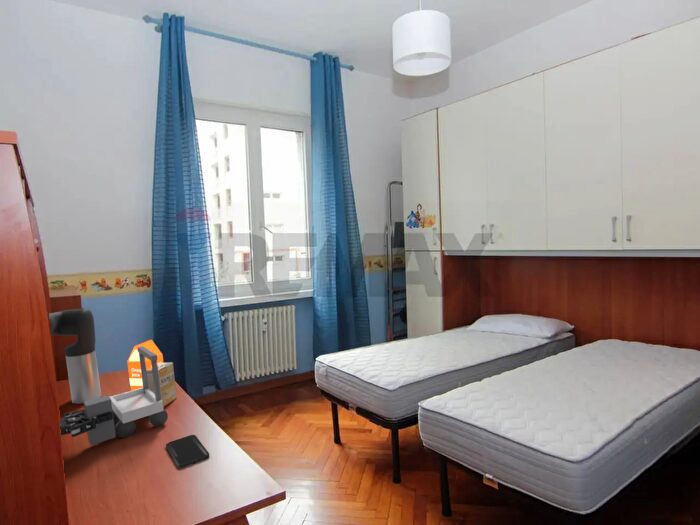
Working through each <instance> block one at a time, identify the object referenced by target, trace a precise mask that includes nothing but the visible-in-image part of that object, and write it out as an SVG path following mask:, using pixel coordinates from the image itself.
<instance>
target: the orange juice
mask: <svg viewBox="0 0 700 525" xmlns="http://www.w3.org/2000/svg"><path fill="white" fill-rule="evenodd" d="M140 346H144V347H145V348H147V349H148V350H150V351H152V352H153V353H155V354H156V355H157V359H158V360H157V365H158V364H160V363H164V356H163V353H162V352H161V351H160V349H159V347H158V346H157V345H156V344H155V343H154V341H153V340H152V339H149V340H146V341H145V342H141V343H139V344H137V345H134V347H133V349H132V351H131V353H130V355H129V357H128V359H127V370H128V377H129V378H128V379H129V385H130V391H132V390H135V389H139V388H143V382H142V374H141V366H140V358H139V352H138V348H137V347H140ZM145 362H146V370H148V369H150V368H152V365H151V361H150V360H149V359H147V358H146V357H145Z"/></svg>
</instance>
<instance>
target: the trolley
mask: <svg viewBox="0 0 700 525" xmlns="http://www.w3.org/2000/svg"><path fill="white" fill-rule="evenodd" d="M137 348H138V352H139V358H140V366H141V374H142V382H143V388H139V389H135V390H132V391H131V390H130V391H125V392H122V393H118V394H115V395H111V396H109V397H110V399H111V403H112V412H113V420H114V428H115V434H117V436H119V437H120V438H124V439H125V437H126V438H128V436H129V437H131V436H132V435H133V434H134V433H135V430H136V428H137V427H136V426H137V425H136V423H135V421H136V420H138V419H141V418H142V419H143V418H145V417H148V422H149V423H150V424H151V425H152V426H153V427H161V426H164V425H165V423H166V422H167V421H168V418H169V416H168V412H167V411H166V410H165V409H164V407H163V402H162V398H161V390H160V382H159V374H158V365H157V360H158V359H157V355H156V354H155V353H153V352H152V351H150V350H148V349H147V348H145V347H144V346H140V347H137ZM145 357H146V358H147V359H149V360H150V361H151V365H152V374H153V382H154V390H155V394H154V393H153V392H152V391H150V390H149V386H148V378H147V370H146V362H145Z"/></svg>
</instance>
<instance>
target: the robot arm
mask: <svg viewBox="0 0 700 525" xmlns="http://www.w3.org/2000/svg"><path fill="white" fill-rule="evenodd" d="M49 319H50V326H51V333H52V336H65V337H66V336H68V337H69V336H77V341H76V342H75V343H72V344H70V345H67V346H66V347H65V348H64V355H65V360H66V362H65V363H66V368H67V377H68V383H69V390H70V391H69V392H70V397H71V403H72V404H74V403H75V404H76V405H79V404H80V405H81V404H84V401H88V400H92V399H95V398H99V397H102V392H101V391H102V390H101V383H100V375H99V369H98V362H97V352H96V347H95V346H96V330H95V319H94V315H93V312H92V310H90V309H89V308H74V309H66V310H60V311H56V312H50V313H49ZM75 404H74V405H75ZM59 419H60V429H61V436H63V435H71V438H74V437H77V436H80V435H82V434H85V433H87V431H90V430H92V429H95V428H96V426H97V425H98V424H99V423H102V422H106V421H109V420H112V419H113V415H112V412H111V411H110V412H106V413H103V414H100V415H97V416H92V417H87V416H85V409H84V408H83V409H79V410H74V411H70V412H69V411H68V412H65V413H64V417H61V418H59ZM87 420H88V421H87ZM89 423H90V424H89ZM88 427H89V428H88Z"/></svg>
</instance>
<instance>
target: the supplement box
mask: <svg viewBox="0 0 700 525" xmlns="http://www.w3.org/2000/svg"><path fill="white" fill-rule="evenodd" d="M174 371H175V370H174V362H163V363H160V364H158V374H159V382H160V390H161V398H162V402H163V408H164V407H166V406H167V405H168V404H170V403H171V402H172V401H174V400H177V390H176V381H175V380H176V379H175V372H174ZM147 378H148V386H149V390H150V391H152V392H153V393H154V394H155V390H154V382H153V374H152V368H150V369H148V370H147Z"/></svg>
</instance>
